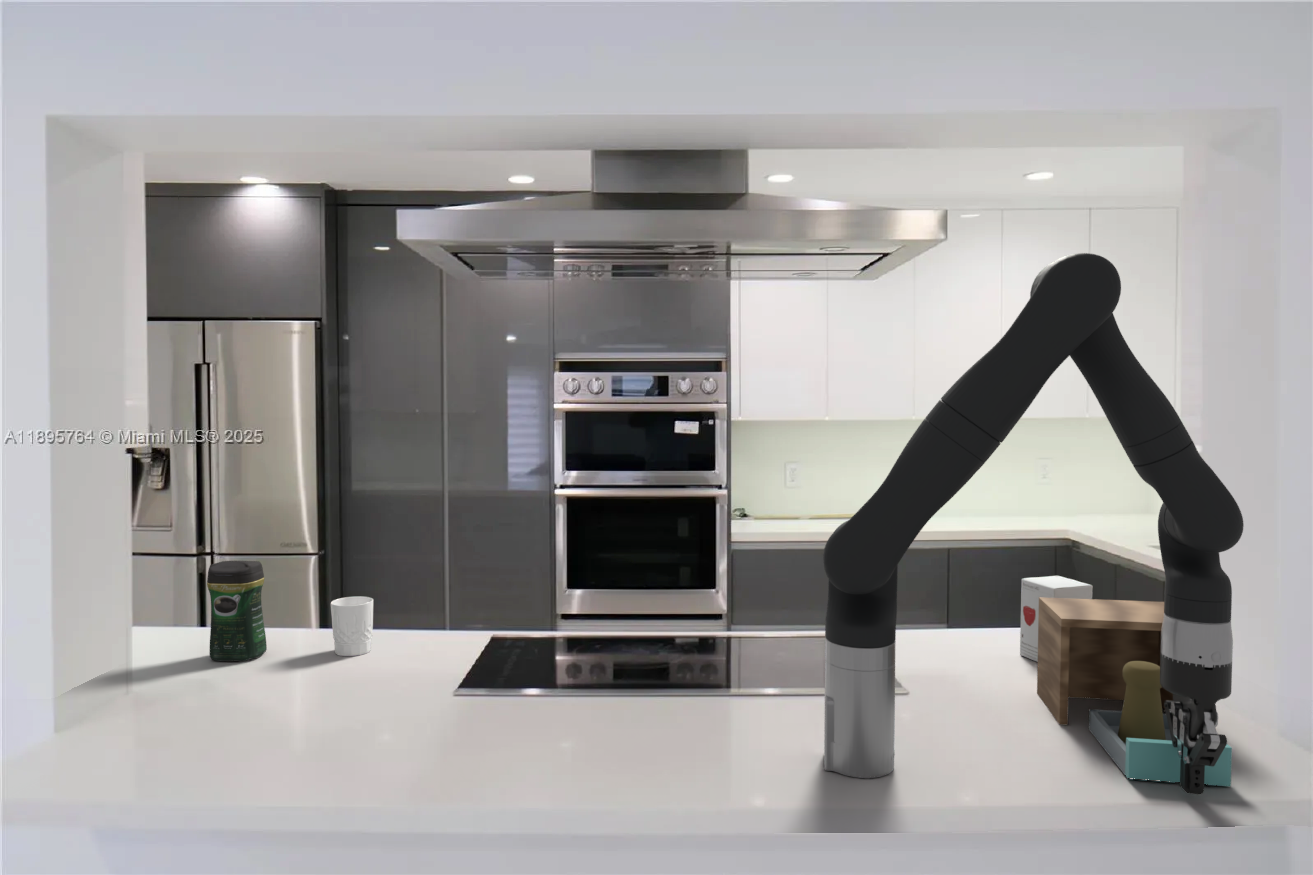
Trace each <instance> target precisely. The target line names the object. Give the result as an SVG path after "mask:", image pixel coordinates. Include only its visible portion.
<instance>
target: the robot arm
mask: <svg viewBox="0 0 1313 875" xmlns="http://www.w3.org/2000/svg"><path fill="white" fill-rule="evenodd" d="M1120 277H1121V276H1120V273H1119V272H1118V269H1117V268H1116V267H1115V265H1114V264H1113V263H1112V262H1111V261H1110V260H1108V259H1107V258H1106V257H1104V256H1101V255H1100V254H1095V253H1089V252H1088V253H1087V252H1080V253H1073V254H1072V253H1071V254H1068V255H1064V256H1062V257H1060V258H1058V259H1056V260H1054V261H1052V262H1051V263H1049V264H1046V266H1044V267H1042V269H1041V270H1040V271H1039V272H1038V273H1037V275H1036V276H1035V278H1034V280H1033V281H1032V284H1031V289H1030V293H1029V294H1030V295H1029V297H1030V298H1029V299H1028V301H1027V303H1026V304H1025V305H1024V307H1023V308H1022V310H1021V311H1020V312H1019V314H1018V316H1016V319H1015V320H1014V321H1013V323H1012V324H1011V326H1010V327H1009V328H1008V330H1007V331H1006V332H1005V334H1004V335H1003V336H1002V337H1001V338H1000V339H999V341H998V342H997V343H996V344H994V346H993V347H992V348H991V349H989V351H987V352H986V353H984V355H983V356H982V357H980V358H979V359H978V360H977V361H976V362H975V363H974V364H973V365H972V366H971V367H969V368H968V370H966V371H965V372H964V373H963V374H962V375H961V376H960V377H959V378H958V379H957V380H956V381H955V382H954V383H953V384H952V385H951V386H950V387H949V388H948V390H947V391H946V392H945V393H944V394H943V395H942V397H941V398H940V399H939V400H938V401H937V402H936V403H935V405H934V406H933V407H932V409H931V410H930V411H929V413H927V415H926V416H925V417H924V419H923V420H922V421H921V423H920V424H919V425H918V427H917V428H916V430H915V431H914V432H913V434H912V435H911V437H910V438H909V440H908V442H907V443H906V444H905V446H904V447H903V449H902V451H901V453H900V454H899V456H898V458H897V459H896V461H895V463H894V464H893V466H892V468H891V469H890V471H889V473H888V475H887V476H886V478H884V481H883V482H882V484H881V485H880V486H879V487H878V489H877V490H876V491H875V492H874V493H873V494H872V496H870V498H869V499H867V501H865V503H864V504H863V505H862V506H861V507H860V508H859V509H858V511H856V512H855V513H854V514H853V515H852V517H851V518H850V519H848V520H846V521H844V522H843V523H841V524H840V525H839V526H838V527H837V528H836V529H835V530H834V531H833V533H831V535H830V536H829V538H828V539H827V540H826V543H825V546H824V548H823V554H822V557H823V558H822V562H823V567H824V572H825V574H826V577H827V579H828V583H827V584H828V590H827V592H828V593H827V603H826V604H827V605H826V613H825V621H824V622H825V623H824V624H825V627H824V632H825V633H824V637H825V639H824V640H825V642H824V643H825V646H824V647H825V648H824V649H825V653H824V654H825V655H824V656H825V657H824V658H825V659H824V663H825V664H824V665H825V668H824V730H823V731H824V734H823V736H824V740H823V745H824V747H823V750H824V752H823V754H824V757H823V758H824V760H823V763H824V766H823V767H824V770H825V771H831V772H836V773H837V774H839V775H843V776H847V777H854V778H861V779H870V778H871V779H872V778H879V777H883V776H884V777H885V776H886V775H888V774H891V773H892V772H893V770H894V769H895V755H896V754H895V732H896V731H895V726H896V725H895V720H896V719H895V717H896V716H895V715H896V712H895V711H896V705H895V704H896V640H897V639H896V635H897V633H896V632H897V631H896V630H897V614H898V575H899V574H898V569H899V568H898V567H899V563H900V562H901V560H902V558H903V557H904V555H905V554H906V552H907V551H908V549H909V548H910V546H911V545H912V544H913V542H914V541H915V539H916V538H917V536H918V535H919V533H920V532H921V531H922V530H923V528H924V527H925V525H927V523H928V522H930V521H929V520H931V518H933V517H934V516H935V514H936V513H937V512H939V511H940V509H942V508H943V507H944V506H945V505H946V504H947V503H948V502H949V501H950V500H951V499H952V498H954V496H955V495H956V494H957V493H958V492H960V490H962V488H963V487H964V486H965V485H966V484H967V483H968V482H969V481H970V480H971V478H972V477H973V476H975V474H976V473H977V472H978V471H979V470H980V469H981V468H982V467H983V466H984V465H985V464H986V462H987V461H988V460H989V458H990V457H991V456H992V455H993V454H994V453H995V451H996V450H997V449H998V448H999V446H1000V445H1002V444H1001V443H1003V441H1005V439H1006V438H1007V437H1008V435H1009V434H1010V433H1011V431H1012V430H1013V429H1014V427H1015V426H1016V424H1018V422H1019V421H1020V420H1021V418H1022V417H1023V415H1024V414H1025V413H1026V411H1027V410H1028V408H1029V407H1030V406H1031V405H1032V403H1033V402H1034V400H1035V399H1036V398H1037V396H1038V395H1039V393H1040V391H1041V390H1042V389H1043V387H1044V386H1045V384H1046V383H1047V381H1048V380H1049V379H1050V377H1052V376H1053V374H1054V373H1055V371H1057V369H1058V368H1059V367H1060V366H1061V365H1062V364H1063V363H1064V362H1065V361H1066V360H1067V359H1068V357H1070V358H1071V360H1072V361H1073V363H1074V364H1075V366H1076V367H1077V369H1078V370H1079V371H1080V373H1081V375H1082V376H1083V378H1084V380H1085V381H1086V382H1087V384H1088V386H1089V388H1090V389H1091V391H1092V393H1093V395H1094V396H1095V398H1096V400H1097V402H1098V404H1099V405H1100V407H1101V409H1102V411H1103V414H1104V415H1105V417H1106V418H1107V421H1108V422H1109V424H1110V426H1111V428H1112V430H1113V432H1114V434H1115V435H1116V438H1117V439H1118V441H1119V443H1120V445H1121V446H1122V449H1123V450H1124V452H1125V454H1126V456H1127V457H1128V459H1129V461H1130V463H1131V464H1132V466H1133V468H1134V470H1135V471H1136V473H1137V474H1138V476H1139V477H1140V478H1141V479H1142V481H1144V482H1145V483H1146V484H1147V485H1149V486H1150V487H1152V488H1153V490H1155V492H1156V493H1157V495H1158V496H1159V498H1160V500H1161V501H1162V504H1161V506H1160V509H1159V512H1158V517H1157V518H1158V519H1157V536H1158V543H1159V549H1160V556H1161V562H1162V567H1163V570H1164V576H1165V580H1164V596H1163V597H1164V601H1163V602H1164V618H1163V623H1162V629H1161V652H1160V684H1161V686H1162V687H1163V688H1164V689H1165V690H1167V691H1169V692H1171V693H1173V701H1168V700H1165V702H1164V707H1165V709H1164V712H1165V714H1166V716H1167V721H1168V725H1169V730H1170V735H1171V739H1172V744H1173V747H1177V748H1178V751H1177V754H1178V756H1179V758H1182V759H1181V760H1180V783H1179V786H1180V788H1181V789H1182V790H1183V791H1184V792H1185V793H1186V794H1189V795H1191V794H1192V795H1193V794H1194V795H1202V794H1203V793H1204V792H1205V785H1204V775H1205V765H1206V766H1215V764H1216V762H1217V760H1218V759H1219V757H1220V755H1221V753H1222V752H1223V750H1224V748H1225V746H1226V745H1227V744H1228V738H1227V736H1226V735H1225V734H1219V733H1218V732H1217V728H1216V727H1218V726H1219V714H1218V710H1217V706H1216V704H1217V702H1219V701H1221V700H1225V699H1227V698H1229V697H1230V696H1231V694H1232V682H1233V679H1232V678H1233V677H1232V676H1233V652H1234V651H1233V649H1234V646H1233V644H1234V639H1233V630H1232V605H1233V604H1232V599H1233V589H1232V583H1231V580H1230V577H1229V576H1228V574H1227V573H1226V572H1225V571H1224V570H1223V568H1222V566H1221V560H1220V553H1222V552H1225V551H1226V552H1227V551H1229V550H1230V549H1233V547H1234V546H1235V545H1236V544H1238V543H1239V541H1240V539H1241V537H1242V535H1243V533H1244V527H1245V526H1244V519H1243V518H1244V517H1243V514H1242V511H1241V508H1240V507H1239V505H1238V503H1237V501H1236V499H1235V498H1234V496H1233V495H1232V493H1231V492H1230V491H1229V489H1228V488H1227V487H1226V485H1225V484H1224V482H1222V480H1221V479H1220V478H1219V477H1218V475H1217V474H1216V473H1215V471H1214V469H1212V468H1211V466H1210V465H1208V463H1207V462H1206V461H1205V459H1204V458H1203V457H1202V456H1201V454H1200V453H1199V451H1198V449H1197V447H1196V445H1195V442H1194V441H1193V439H1192V437H1191V436H1190V433H1189V432H1188V430H1187V428H1186V427H1185V425H1184V423H1183V421H1182V419H1181V418H1180V416H1179V414H1178V412H1177V410H1176V409H1175V408H1174V407H1173V405H1172V404H1171V402H1170V400H1169V399H1168V397H1167V396H1166V394H1164V392H1163V390H1162V389H1161V388H1160V387H1159V386H1158V384H1157V383H1156V382H1155V381H1154V380H1153V378H1152V377H1151V375H1149V373H1148V372H1147V371H1146V369H1144V367H1143V366H1142V363H1141V362H1140V361H1139V360H1138V359H1137V357H1136V356H1135V354H1134V353H1133V352H1132V350H1131V348H1130V347H1129V345H1128V342H1127V341H1126V340H1125V338H1124V336H1123V334H1122V332H1121V329H1120V328H1119V326H1118V323H1117V320H1116V318H1115V315H1114V311H1115V310H1116V308H1117V307H1118V304H1119V302H1120V298H1121V293H1122V282H1121V278H1120Z"/></svg>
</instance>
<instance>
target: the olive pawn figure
mask: <svg viewBox="0 0 1313 875" xmlns="http://www.w3.org/2000/svg"><path fill="white" fill-rule="evenodd" d="M1123 679H1124V681H1125V683H1126V684H1127V686H1126V691H1125V697H1124V700H1123V704H1122V710H1121V711H1122V714H1121V720H1120V725H1119V731H1118V737H1119V738H1120V739H1121V740H1122V741H1123V742H1124V743H1126V738H1139V739H1155V740H1166V738H1165V729H1164V721H1163V713H1164V712H1163V708H1162V704H1161V696H1160V688H1161V687H1162V686H1161V684H1160V667H1159V666H1158V665H1156V664H1154V663H1150V662H1145V661H1131V662H1128V663H1126V664H1125V666H1124V668H1123Z"/></svg>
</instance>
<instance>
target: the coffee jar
mask: <svg viewBox="0 0 1313 875" xmlns="http://www.w3.org/2000/svg"><path fill="white" fill-rule="evenodd" d="M206 578H207V579H206V587H207V590H208V591H209V595H210V605H211V606H210V608H211V609H210V610H211V612H210V634H209V658H210V659H211V660H212V661H217V662H218V661H219V662H243V661H248V660H251V659H258V658H260V657H262V656H263V655H264V654H265V653H267V652H266V651H267V635H266V630H265V623H264V616H263V613H264V612H263V607H262V606H263V604H262V590H263V587H264V586H263V585H264V584H265V572H264V567H263V565H262V563H261V561H258V560H221V561H218V562H216V563H212V564H210V565H209V567H208V571H207V577H206Z"/></svg>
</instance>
